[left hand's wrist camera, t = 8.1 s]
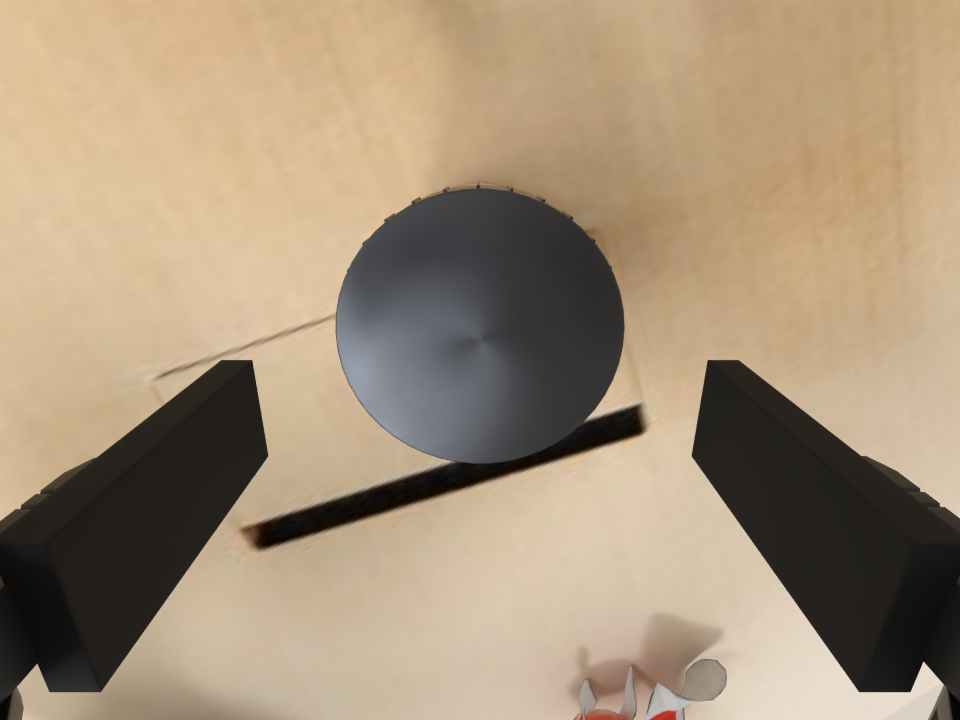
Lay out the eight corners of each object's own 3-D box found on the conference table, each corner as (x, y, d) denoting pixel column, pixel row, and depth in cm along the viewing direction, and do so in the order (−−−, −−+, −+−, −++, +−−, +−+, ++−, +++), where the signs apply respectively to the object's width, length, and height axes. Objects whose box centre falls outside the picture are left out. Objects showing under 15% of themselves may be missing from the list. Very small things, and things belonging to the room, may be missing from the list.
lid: (451, 474, 23) (447, 509, 21) (294, 287, 20) (271, 304, 18) (656, 350, 21) (677, 374, 19) (516, 121, 18) (522, 116, 16)
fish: (526, 691, 41) (610, 841, 34) (677, 588, 46) (778, 700, 39) (532, 733, 48) (602, 866, 41) (663, 640, 52) (746, 743, 45)
